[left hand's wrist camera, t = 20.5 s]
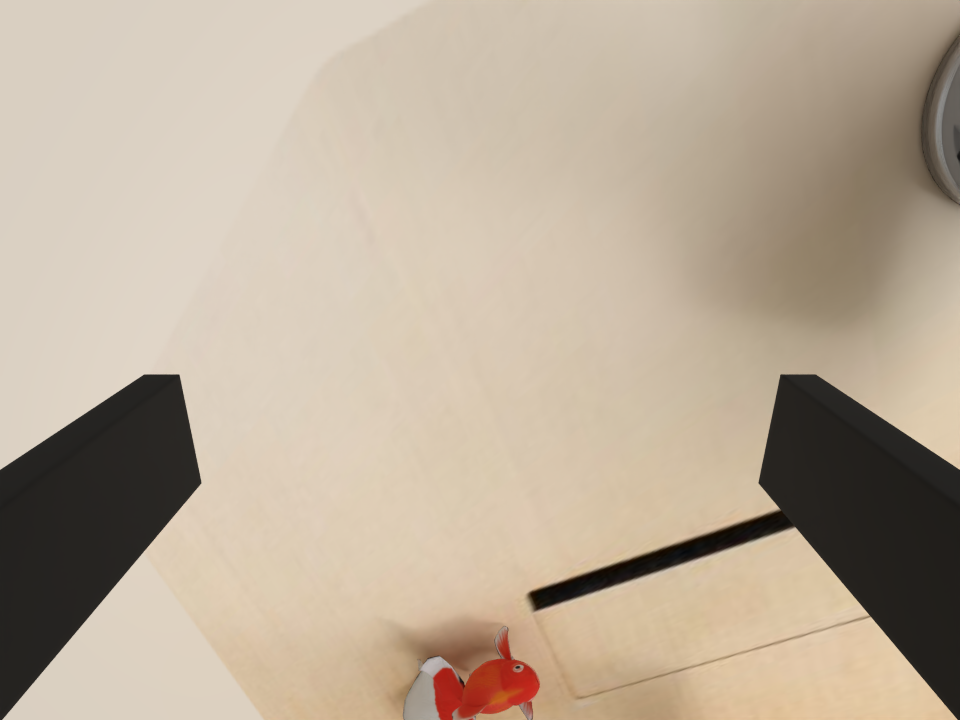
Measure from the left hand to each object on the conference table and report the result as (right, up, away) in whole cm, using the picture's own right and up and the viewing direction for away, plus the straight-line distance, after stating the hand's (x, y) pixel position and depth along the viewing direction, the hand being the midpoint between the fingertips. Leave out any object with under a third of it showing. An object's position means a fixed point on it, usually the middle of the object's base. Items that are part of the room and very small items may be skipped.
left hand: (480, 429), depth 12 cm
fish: (-1, -29, +44) cm, 53 cm away
